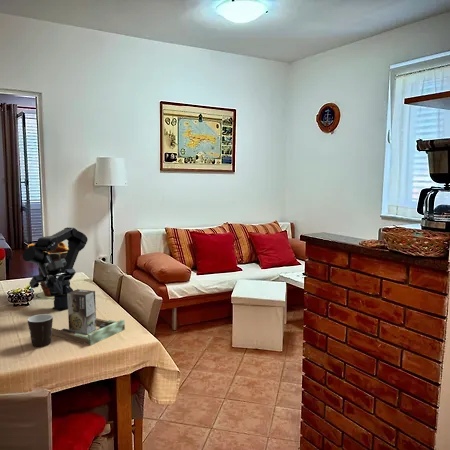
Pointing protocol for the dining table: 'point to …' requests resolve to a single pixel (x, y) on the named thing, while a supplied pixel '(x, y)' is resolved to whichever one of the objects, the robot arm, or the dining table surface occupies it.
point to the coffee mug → (40, 329)
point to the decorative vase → (55, 256)
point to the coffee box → (82, 311)
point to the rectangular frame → (104, 332)
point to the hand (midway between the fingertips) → (61, 293)
